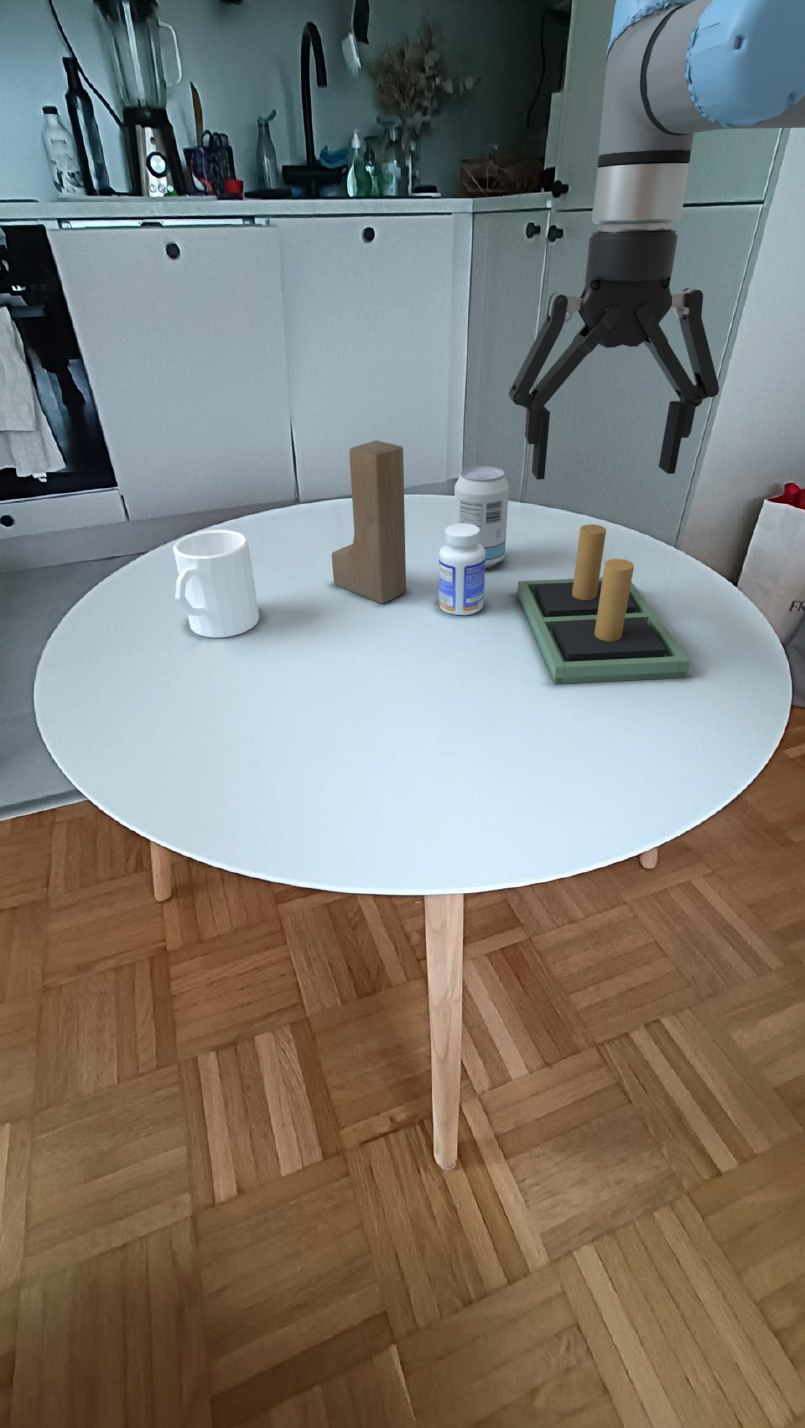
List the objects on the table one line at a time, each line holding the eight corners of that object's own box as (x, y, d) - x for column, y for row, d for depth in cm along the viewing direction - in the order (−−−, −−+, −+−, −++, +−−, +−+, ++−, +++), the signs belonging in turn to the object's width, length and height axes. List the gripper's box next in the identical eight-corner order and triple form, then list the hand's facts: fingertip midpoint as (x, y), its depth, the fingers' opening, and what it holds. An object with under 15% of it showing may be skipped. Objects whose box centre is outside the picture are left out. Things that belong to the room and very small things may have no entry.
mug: (158, 650, 80) (137, 567, 74) (212, 602, 89) (197, 526, 84) (222, 659, 78) (205, 575, 72) (270, 610, 87) (259, 532, 82)
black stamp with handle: (663, 662, 74) (682, 576, 68) (567, 666, 74) (578, 581, 68) (641, 629, 80) (657, 548, 74) (552, 633, 79) (561, 552, 74)
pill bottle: (484, 597, 89) (487, 520, 83) (482, 617, 84) (486, 538, 79) (440, 595, 89) (441, 519, 84) (436, 615, 85) (436, 537, 79)
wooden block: (332, 584, 93) (320, 440, 82) (357, 573, 95) (348, 432, 85) (382, 605, 88) (376, 454, 77) (407, 593, 90) (404, 445, 80)
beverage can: (503, 552, 100) (509, 464, 93) (504, 572, 95) (510, 481, 88) (454, 551, 101) (456, 464, 94) (452, 571, 95) (453, 481, 88)
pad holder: (686, 677, 73) (690, 660, 72) (553, 684, 72) (555, 667, 71) (625, 590, 89) (627, 576, 88) (516, 595, 89) (517, 581, 88)
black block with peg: (634, 618, 82) (648, 538, 76) (547, 622, 81) (555, 542, 76) (615, 591, 87) (628, 515, 82) (534, 595, 87) (541, 519, 82)
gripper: (754, 223, 66) (705, 457, 78) (486, 232, 66) (478, 467, 78) (795, 223, 60) (735, 478, 72) (500, 233, 59) (489, 489, 72)
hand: (602, 473), depth 75 cm, fingers open, 13 cm apart
